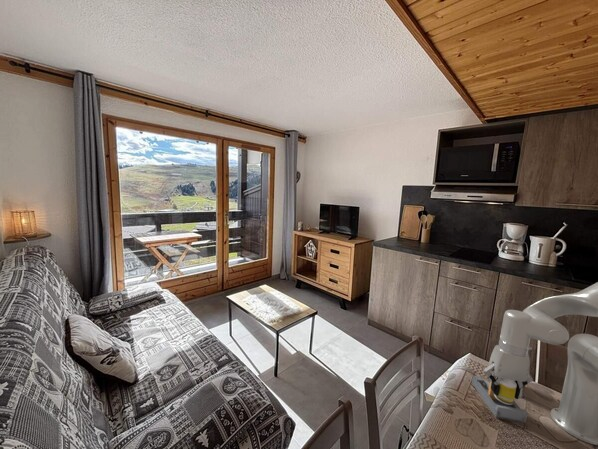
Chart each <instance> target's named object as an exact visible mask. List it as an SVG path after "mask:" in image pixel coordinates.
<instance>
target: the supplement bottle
mask: <svg viewBox="0 0 598 449" xmlns="http://www.w3.org/2000/svg"><path fill="white" fill-rule="evenodd" d="M499 385H500V390H499V395H498V396H496V395H495V394H494V396H495V397H496V399H498V400H499V401H500V402H502V403H504V404H507V405H512V404H513V403H514V401H515V399H516V398H515V393H516V387H517V384H516V382H515V380H508V379H502V380H501V381H500V383H499Z"/></svg>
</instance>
